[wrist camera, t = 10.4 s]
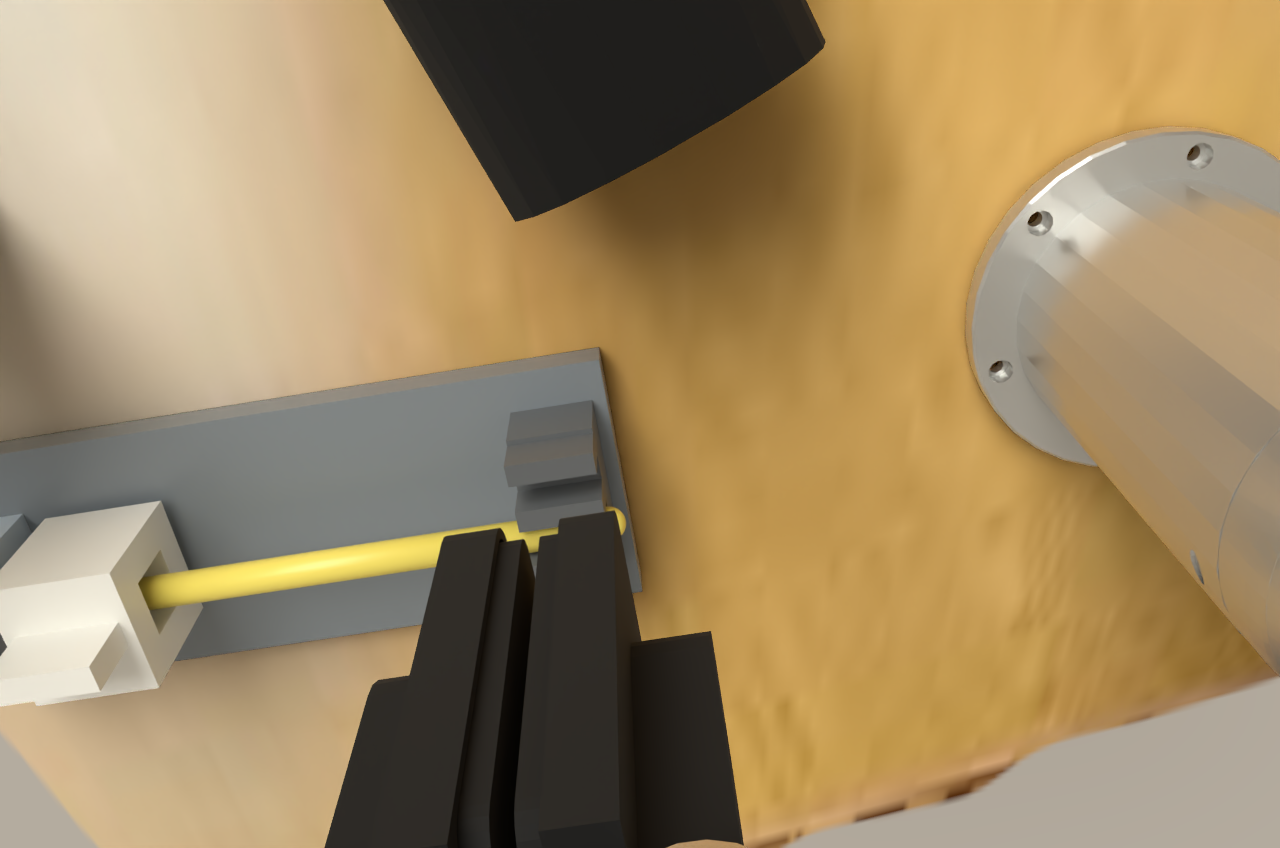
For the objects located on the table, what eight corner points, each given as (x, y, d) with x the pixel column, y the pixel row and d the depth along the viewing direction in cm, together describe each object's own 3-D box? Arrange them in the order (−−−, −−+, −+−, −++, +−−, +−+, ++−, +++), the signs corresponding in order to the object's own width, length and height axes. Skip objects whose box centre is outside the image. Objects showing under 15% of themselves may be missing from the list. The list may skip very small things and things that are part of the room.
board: (599, 347, 41) (598, 404, 36) (641, 574, 45) (645, 650, 41) (-88, 455, 42) (-170, 524, 37) (18, 667, 46) (-44, 752, 42)
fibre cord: (623, 497, 40) (623, 515, 39) (628, 526, 40) (629, 544, 39) (-3, 593, 41) (-19, 612, 40) (11, 620, 41) (-5, 640, 40)
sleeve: (160, 500, 41) (78, 616, 35) (203, 607, 43) (133, 735, 37) (44, 518, 41) (-58, 637, 35) (92, 624, 43) (3, 754, 37)
